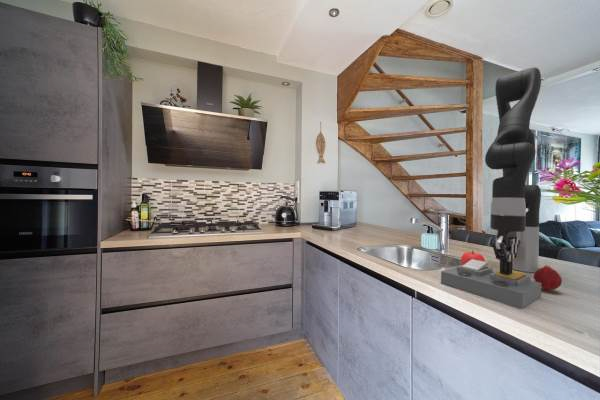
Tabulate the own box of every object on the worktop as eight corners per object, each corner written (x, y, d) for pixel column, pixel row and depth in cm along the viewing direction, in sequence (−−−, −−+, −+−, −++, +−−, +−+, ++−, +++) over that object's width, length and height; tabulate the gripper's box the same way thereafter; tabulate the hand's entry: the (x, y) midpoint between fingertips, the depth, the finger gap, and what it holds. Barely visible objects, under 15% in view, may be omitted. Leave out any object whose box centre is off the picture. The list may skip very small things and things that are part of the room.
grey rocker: (472, 262, 80) (471, 258, 80) (487, 265, 76) (487, 262, 76) (462, 269, 76) (461, 266, 76) (477, 273, 73) (477, 269, 73)
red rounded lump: (567, 295, 67) (568, 268, 67) (543, 293, 68) (544, 266, 68) (550, 287, 73) (550, 262, 73) (528, 286, 74) (529, 261, 74)
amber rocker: (505, 272, 72) (505, 268, 72) (524, 277, 68) (524, 272, 68) (495, 275, 69) (495, 270, 69) (515, 279, 65) (515, 275, 65)
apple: (464, 273, 86) (464, 252, 86) (456, 267, 94) (457, 247, 94) (489, 276, 84) (490, 253, 84) (480, 269, 91) (480, 249, 91)
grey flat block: (462, 275, 83) (463, 261, 83) (541, 296, 66) (541, 278, 66) (440, 283, 76) (441, 267, 76) (522, 309, 59) (522, 288, 59)
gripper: (500, 212, 73) (499, 267, 74) (481, 213, 67) (479, 273, 67) (533, 214, 67) (531, 274, 67) (515, 215, 60) (513, 282, 60)
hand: (505, 273), depth 67 cm, fingers closed
